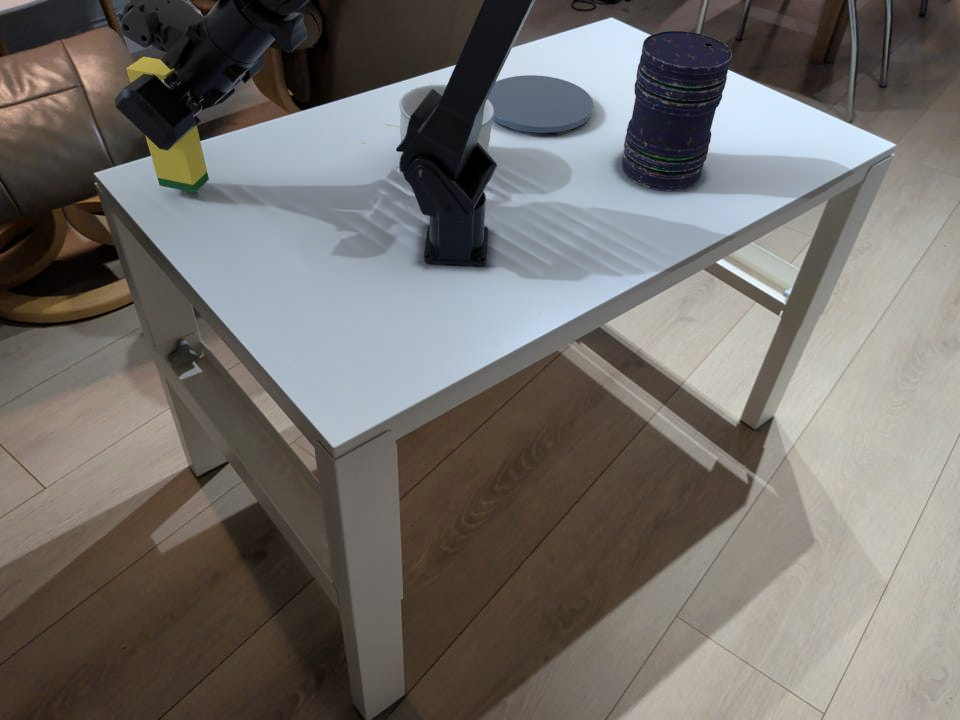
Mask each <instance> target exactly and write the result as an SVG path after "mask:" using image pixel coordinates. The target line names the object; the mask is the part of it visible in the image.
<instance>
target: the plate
mask: <svg viewBox="0 0 960 720" xmlns="http://www.w3.org/2000/svg"><path fill="white" fill-rule="evenodd" d="M487 99H488V100H489V101H490V102H491V103H492V105H493V107H494V116H493V119H492V121H494V122H496V123H498V124H500V125H501V126H504V127H506V128H510V129H513V130H517V131H520V132H521V131H522V132H528V133H540V134H541V133H542V134H543V133H544V134H545V133H546V134H547V133H558V132H565V131H570V130H572V129H575V128H578V127H580V126H582V125H584V124H585V123H586V122H588V120H589V119H590V118H591V117H592V115H593V113H594V101H593V98H592V96H591V95H590V94H589V93H588V92H587V91H586V90H585V89H584V88H582V87H581V86H579V85H576V84H575V83H572V81H567V80H564V79H561V78H558V77H553V76H547V75H537V74H536V75H535V74H534V75H533V74H528V75H516V76H509V77H505V78H502V79H498V80H496V82H495V84H494V86H493V88H492V90H491V92H490V94H489V96H488V98H487Z"/></svg>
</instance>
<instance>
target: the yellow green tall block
mask: <svg viewBox="0 0 960 720" xmlns="http://www.w3.org/2000/svg"><path fill="white" fill-rule="evenodd" d="M174 71H176V70H175V69H174V68H173V69H172V70H170V69H169V68H168V67H167V66H166V65H165V64H164V63H163V62H162V61H161V58H160V59H159V58H155V57H148V56H141V58H139V59H138V60H136V61H135V62H133V63H132V64H130V65H129V66H127V67H126V72H127V75H128V79H129V82H130V83H131V82H133V81H134V80H136V79H137V78H138V77H140V76H141V75H143V74H149V75H153V74H154V75H155V76H157V77H158V78H159V79H160V80H161V81H163V80H164V79H165V78H166V77H168V76H169V75H170V74H172V73H173V72H174ZM130 83H129V84H130ZM180 83H181V82H179V83H178V84H177V85H179V84H180ZM188 96H189V97H190V95H189V94H188ZM145 139H146V142H147V146H148V150H149V153H150V156H151V157H150V158H151V160H152V164H153V167H154V171H155V175H156V178H157V182H158V185H159V186H160V187H163V188H170V189H173V190H179V191H183V192H184V191H185V192H189V193H194V194H196V193H197V192H198V191H199V190H200V189H201V188H202V187H203V186H204V185H205V184H206V183H207V182H208V181H210V177H209V173H208V167H207V163H206V160H205V156H204V152H203V147H202V144H201V143H202V142H201V139H200V134H199V129H198V124H197V125H196V126H195V127H194V128H193V129H192V130H190V131H189V132H188V133H187V134H186V135H185V136H184V137H183V138H182V139H181V140H180V141H178V142H177V143H176V144H175V145H174V146H173V147H171V148H170V149H169V150H168V151H167V150H162V149H159V148H158V147H157V146H156V145H155V144H154V143H153V142H152V141H151V140H150V139H149V138H148V137H147V136H145Z"/></svg>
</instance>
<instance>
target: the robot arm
mask: <svg viewBox="0 0 960 720" xmlns="http://www.w3.org/2000/svg"><path fill="white" fill-rule="evenodd" d="M310 1H311V0H217V1H216V3H215V4H214V5H213V6H212V8H211V9H210V10H209V12H207V13H206V14H205V15H204V16H203V14H202V15H201V14H200V13H199V12H198V11H196V10H195V8H194V7H193V6H192V5H191V4H189V3H187V2H186V1H183V0H128V3H126V4H125V5H124V7H123V11H121V12H120V13H119V14H118V16H117V17H118V20H119V22H120V23H121V25H120V30H121V32H122V35H123V36H124V37H125V38H127V39H129V40H131V41H132V42H134V43H135V44H136V45H139V46H140V47H141V48H144V49H145V48H149V47H151V46H152V47H154V48H155V49H156V50H158V51H161V52H164V53H165V54H163V56H162V57H161V58H160V60H161V61H162V62H163V63H164V64H165V65H166V66H167V67H168V68H169V69H170V70H172V69H173V68H174V69H175V70H176V71H174V72H173V73H172V74H170V75H169V76H168V77H166V78H165V79H164V80H163V81H161V80H160V79H159V78H158V77H157V76H155V75H154V74H153V75H149V74H143V75H141V76H140V77H138V78H137V79H136V80H134V81H133V82H131V83H129V84H127V85H126V86H124V87H122V89H121V90H120V92H119V93H117V95H116V97H115V98H114V101H113V102H114V106H115V108H116V109H117V110H118V112H120V114H122V115H123V116H124V117H125V118H126V119H127V120H128V121H129V122H130V123H132V125H134V126H135V127H136V128H137V129H138V131H140V132H141V133H142V134H143V135H144V136H145V137H146V136H147V137H148V138H149V139H150V140H151V141H152V142H153V143H154V144H155V145H156V146H157V147H158V148H159V149H162V150H167V151H168V150H169V149H170V148H171V147H173V146H174V145H175V144H176V143H177V142H178V141H180V140H181V139H182V138H183V137H184V136H185V135H186V134H187V133H188V132H189V131H190V130H192V129H193V128H194V127H195V126H196V125H197V126H198V125H199V124H200V123H201V122H202V120H201V119H200V118H199V117H198V116H197V115H198V114H200V112H202V111H204V110H207V109H210V108H212V107H216V106H217V105H220V104H223V103H224V102H225V101H227V100H228V99H229V98H230V97H232V95H233V94H235V92H236V87H237V86H238V85H239V84H240V82H243V84H247V83H248V82H250V81H251V80H252V79H253V78H254V77H255V76H256V75H257V74H258V73H259V72H260V71H261V70H262V69H263V68H264V67H265V65H266V61H265V60H266V59H265V54H264V53H265V52H266V51H267V50H268V48H269V47H270V46H272V44H274V42H275V41H276V42H277V43H278V44H279V45H280V47H281V48H282V49H284V51H286V52H287V53H292V52H294V50H296V49H297V48H298V47H299V46H301V44H302V43H304V41H306V40H307V39H308V32H307V31H308V30H307V26H306V25H305V21H304V20H305V19H304V18H305V16H304V14H303V13H302V12H297V11H299V10H300V9H301V8H302V7H304V6H305V5H306V4H307V3H309V2H310ZM191 2H194V0H191ZM535 2H536V0H483V2H482V4H481V6H480V9H479V10H478V13H477V16H476V18H475V20H474V22H473V24H472V27H471V29H470V31H469V33H468V36H467V39H466V40H465V43H464V46H463V48H462V50H461V52H460V53H459V56H458V59H457V61H456V64H455V66H454V68H453V70H452V72H451V75H450V77H449V80H448V81H447V84H446V85H447V86H446V88H445V91H444V93H443V95H442V96H441V95H440V94H439V93H438V92H436V91H435V90H434V89H431V90H430V91H429V93H428V94H427V95H426V97H425V98H424V99H423V101H422V102H421V103H420V104H419V106H418V107H417V108H416V110H415V111H414V112H413V114H412V115H411V117H410V120H409V123H408V128H407V133H406V136H405V138H404V139H403V140H402V142H401V141H400V143H399V144H398V146H396V148H395V151H396V152H398V153H401V155H400V158H399V165H398V166H399V171H400V173H402V176H403V178H404V179H405V181H406V182H407V183H408V185H410V187H411V189H412V192H413V194H414V197H415V199H416V202H417V204H418V207H419V210H420V212H421V214H422V215H424V216H429V224H428V225H427V228H426V229H427V230H426V238H425V244H424V251H423V262H424V263H426V264H439V265H458V266H459V265H460V266H479V267H483V266H486V265H487V260H488V240H489V239H488V238H489V228H488V227H487V226H485V225H486V224H485V222H486V203H487V201H486V200H487V196H486V193H485V189H486V188H487V186H488V184H489V182H491V180H492V178H493V175H494V174H495V171H496V170H497V168H498V164H497V162H496V160H494V159H493V158H492V156H491V155H490V154H489V153H488V151H487V152H486V151H485V150H484V148H483V147H482V146H481V145H480V144H479V143H478V138H479V134H480V131H481V127H482V121H483V113H484V107H485V103H486V100H487V98H488V96H489V94H490V92H491V90H492V88H493V86H494V84H495V82H496V81H498V78H499V76H500V74H501V72H502V70H503V67H504V65H505V63H506V61H507V59H508V58H509V56H510V53H511V51H512V49H513V47H514V45H515V43H516V41H517V38H518V37H519V34H520V33H521V30H522V29H523V27H524V24H525V22H526V20H527V18H528V16H529V15H530V12H531V10H532V8H533V6H534V4H535ZM179 82H181V83H180V84H179V85H177V84H178V83H179ZM188 94H189V95H190V97H189V96H188Z"/></svg>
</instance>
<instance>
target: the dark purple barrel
mask: <svg viewBox="0 0 960 720" xmlns="http://www.w3.org/2000/svg"><path fill="white" fill-rule="evenodd" d="M732 57H733V53H732V50H731V48H730V46H729V45H727V44H726V43H725V42H723V41H721V40H719V39H717V38H715V37H712V36H710V35H707V34H703V33H699V32H693V31H686V30H668V31H667V30H666V31H659V32H655V33H652V34H651V35H649V36H648V37H646V38H645V39H643V43H642V47H641V55H640V59H639V62H638V64H637V69H636V74H635V75H636V79H635V82H634V95H635V99H634V104H633V108H632V109H633V110H632V115H631V118H630V119H629V121H628V124H627V127H626V134H625V137H624V142H623V157H622V160H621V170H622V172H623V175H625V176H626V177H627V178H628V179H629V180H630V181H631V182H634V184H637V185H639V186H641V187H645V188H647V189H651V190H656V191H664V192H675V191H682V190H683V191H684V190H687V189H689V188H691V187H695V185H696V184H697V183H698V182H700V179H701V176H702V172H703V171H702V169H703V168H704V166H705V165H704V164H705V162H706V160H707V158H708V155H709V154H708V153H709V148H710V147H709V146H710V143H711V141H712V140H711V139H712V131H711V130H712V125H713V122H714V118H715V115H716V110H717V108H718V107H719V105H720V103H721V101H722V99H723V93H724V90H725V87H726V84H727V80H728V72H729V67H730V64H731V61H732Z"/></svg>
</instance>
